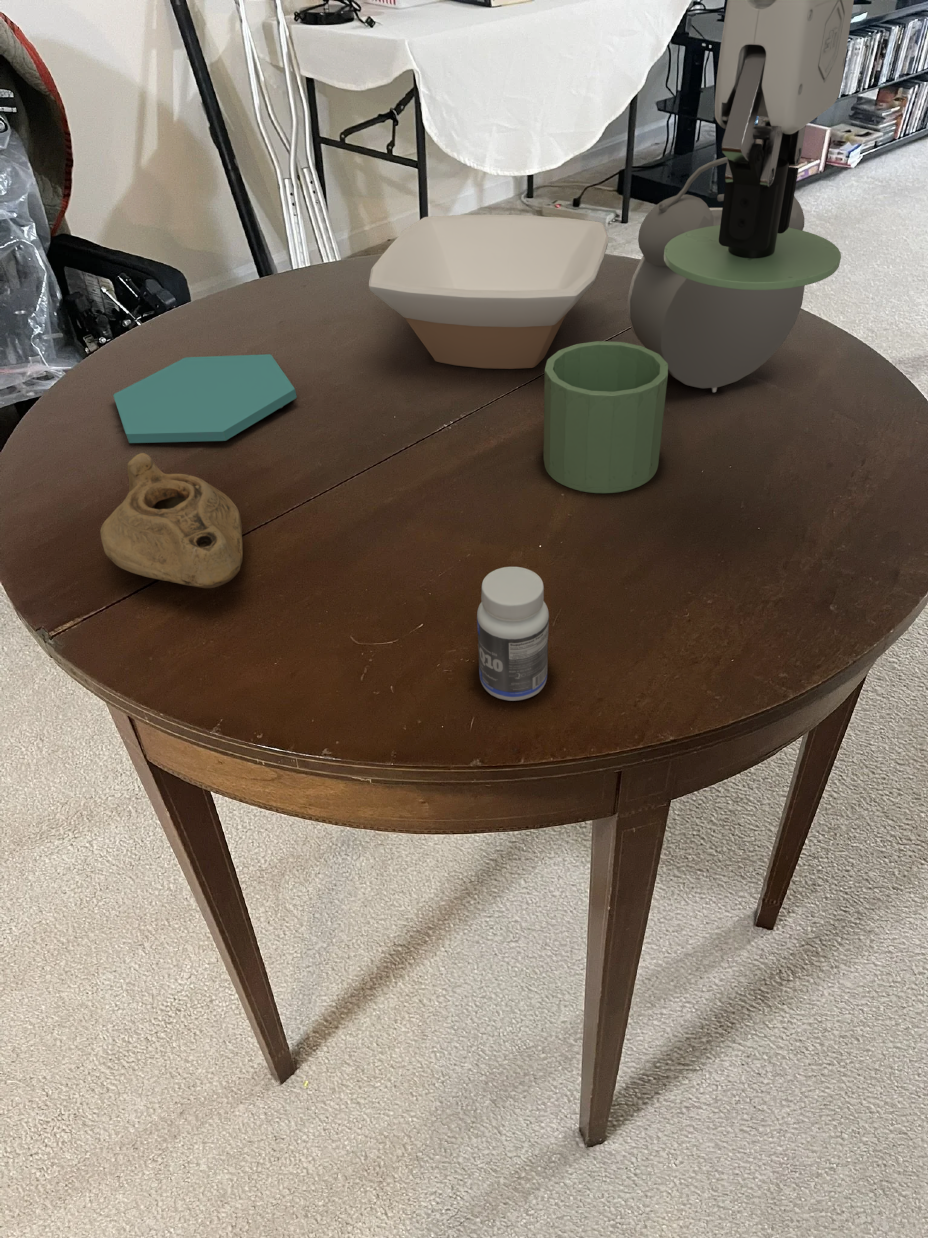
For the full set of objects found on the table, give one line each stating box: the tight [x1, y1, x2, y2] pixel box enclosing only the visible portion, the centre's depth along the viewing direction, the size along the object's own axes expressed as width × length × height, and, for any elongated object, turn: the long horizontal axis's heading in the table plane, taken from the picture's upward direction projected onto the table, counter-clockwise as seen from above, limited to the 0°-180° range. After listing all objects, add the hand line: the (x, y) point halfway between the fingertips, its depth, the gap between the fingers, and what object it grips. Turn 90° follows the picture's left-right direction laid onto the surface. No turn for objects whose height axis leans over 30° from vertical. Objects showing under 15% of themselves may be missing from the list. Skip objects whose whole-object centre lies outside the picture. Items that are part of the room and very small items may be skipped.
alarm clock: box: [627, 156, 806, 393], centre depth 90 cm, size 16×9×22 cm, turn 108°
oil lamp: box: [99, 452, 244, 589], centre depth 74 cm, size 11×15×8 cm
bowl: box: [368, 214, 610, 370], centre depth 103 cm, size 24×25×11 cm
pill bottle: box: [476, 566, 550, 702], centre depth 62 cm, size 5×5×8 cm
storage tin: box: [542, 340, 669, 494], centre depth 83 cm, size 10×10×10 cm
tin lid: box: [664, 158, 842, 290], centre depth 61 cm, size 11×11×7 cm
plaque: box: [112, 353, 298, 444], centre depth 98 cm, size 17×2×20 cm
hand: (753, 235), depth 61 cm, fingers closed on tin lid, 3 cm apart
